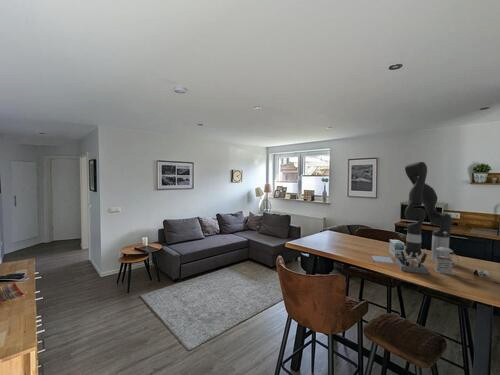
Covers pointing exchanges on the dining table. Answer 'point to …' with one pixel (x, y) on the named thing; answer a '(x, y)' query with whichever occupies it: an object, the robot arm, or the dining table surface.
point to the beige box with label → (413, 263)
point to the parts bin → (403, 267)
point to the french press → (442, 262)
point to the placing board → (382, 259)
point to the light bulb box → (396, 248)
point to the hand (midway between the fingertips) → (412, 268)
